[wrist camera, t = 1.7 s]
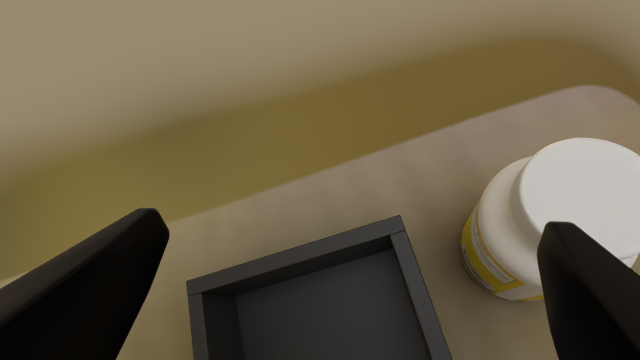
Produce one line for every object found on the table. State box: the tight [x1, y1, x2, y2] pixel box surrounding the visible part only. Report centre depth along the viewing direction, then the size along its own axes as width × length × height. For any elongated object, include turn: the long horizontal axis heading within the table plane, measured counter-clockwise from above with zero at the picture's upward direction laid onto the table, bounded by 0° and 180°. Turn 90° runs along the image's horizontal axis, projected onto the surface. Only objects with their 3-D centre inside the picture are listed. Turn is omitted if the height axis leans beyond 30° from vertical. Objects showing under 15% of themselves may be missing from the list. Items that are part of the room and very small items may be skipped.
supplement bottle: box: [460, 138, 640, 301], centre depth 15 cm, size 5×5×10 cm
